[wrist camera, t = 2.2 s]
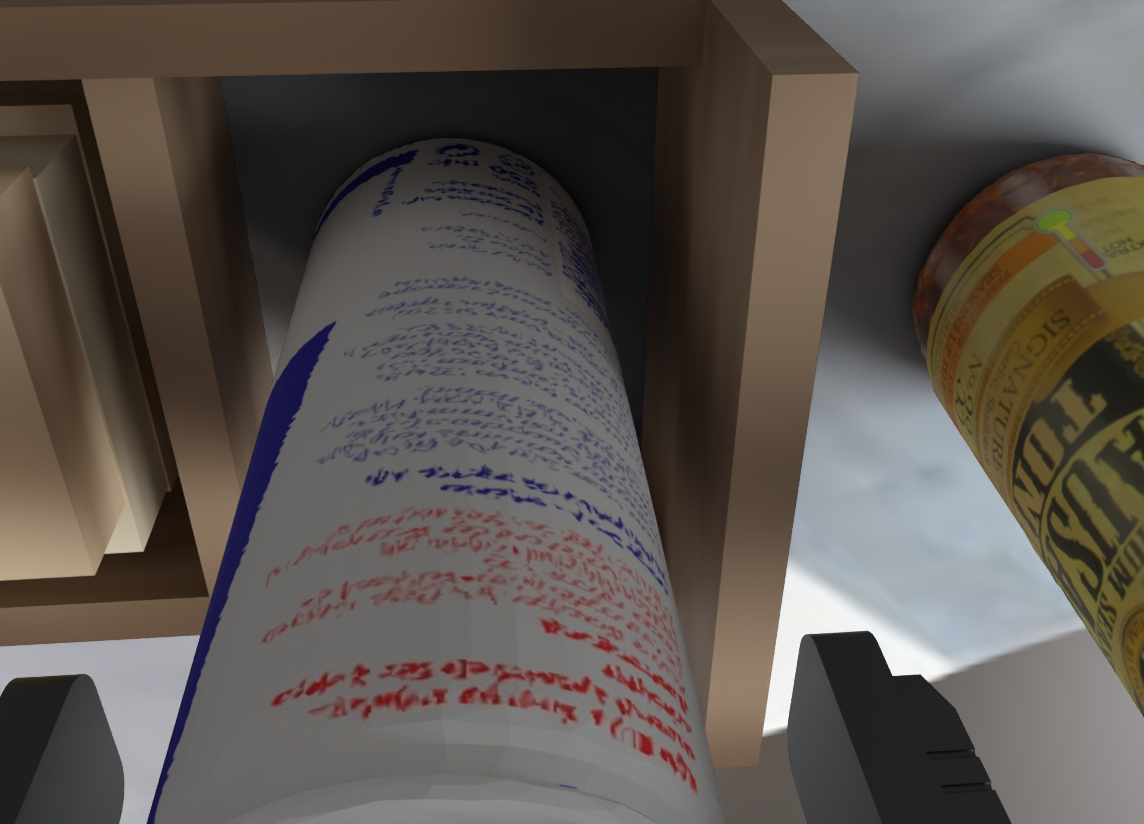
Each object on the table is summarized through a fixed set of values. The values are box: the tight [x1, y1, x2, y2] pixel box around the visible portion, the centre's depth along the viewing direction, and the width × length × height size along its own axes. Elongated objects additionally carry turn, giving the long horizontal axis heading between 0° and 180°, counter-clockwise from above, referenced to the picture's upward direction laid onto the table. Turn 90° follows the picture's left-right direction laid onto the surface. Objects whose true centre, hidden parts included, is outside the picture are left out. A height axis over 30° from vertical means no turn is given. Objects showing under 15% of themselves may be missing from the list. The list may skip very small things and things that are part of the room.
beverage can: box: [147, 138, 727, 824], centre depth 16 cm, size 6×6×15 cm
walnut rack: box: [0, 0, 859, 768], centre depth 18 cm, size 12×17×8 cm
